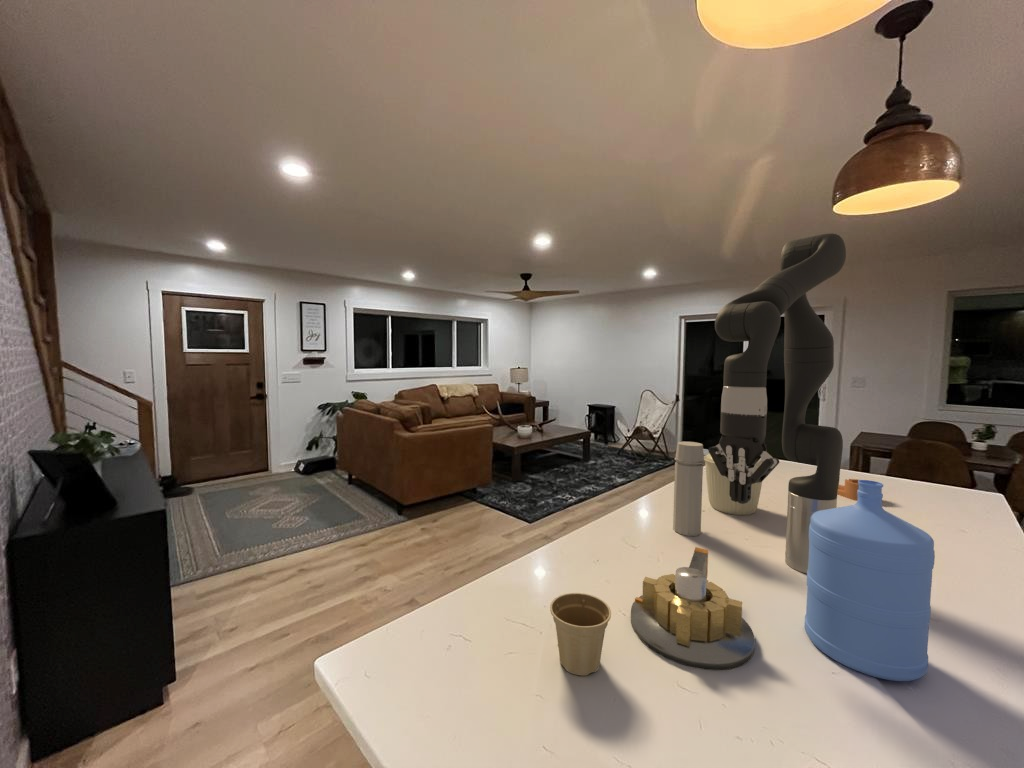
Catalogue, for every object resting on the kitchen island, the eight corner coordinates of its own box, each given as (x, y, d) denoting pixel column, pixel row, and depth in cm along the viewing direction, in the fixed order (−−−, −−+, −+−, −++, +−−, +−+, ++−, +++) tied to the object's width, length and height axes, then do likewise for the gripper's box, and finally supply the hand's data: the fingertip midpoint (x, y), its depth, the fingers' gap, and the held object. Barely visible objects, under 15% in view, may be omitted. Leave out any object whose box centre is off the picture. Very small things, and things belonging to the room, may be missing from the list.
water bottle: (694, 540, 112) (697, 447, 111) (666, 531, 118) (669, 443, 117) (709, 531, 118) (712, 443, 117) (682, 523, 124) (685, 439, 123)
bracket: (881, 505, 143) (882, 485, 143) (861, 506, 142) (862, 486, 141) (832, 489, 161) (832, 471, 160) (813, 490, 159) (814, 472, 159)
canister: (765, 508, 138) (768, 444, 137) (764, 525, 123) (767, 454, 122) (705, 498, 148) (707, 438, 147) (697, 513, 133) (699, 447, 132)
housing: (731, 603, 83) (733, 553, 82) (775, 678, 63) (778, 613, 63) (626, 592, 86) (627, 545, 86) (637, 660, 67) (638, 598, 66)
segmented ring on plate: (710, 576, 90) (711, 548, 89) (755, 654, 66) (756, 616, 65) (633, 569, 92) (634, 542, 92) (649, 641, 68) (650, 605, 68)
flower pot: (544, 643, 71) (545, 593, 70) (599, 640, 71) (600, 591, 71) (555, 686, 61) (556, 628, 61) (618, 682, 62) (619, 625, 62)
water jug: (893, 698, 60) (904, 503, 58) (783, 632, 74) (790, 475, 73) (948, 667, 66) (960, 490, 64) (837, 612, 80) (845, 467, 79)
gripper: (698, 407, 83) (696, 494, 84) (767, 415, 71) (762, 516, 72) (723, 406, 87) (720, 489, 87) (792, 413, 75) (788, 510, 76)
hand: (739, 501), depth 80 cm, fingers closed
